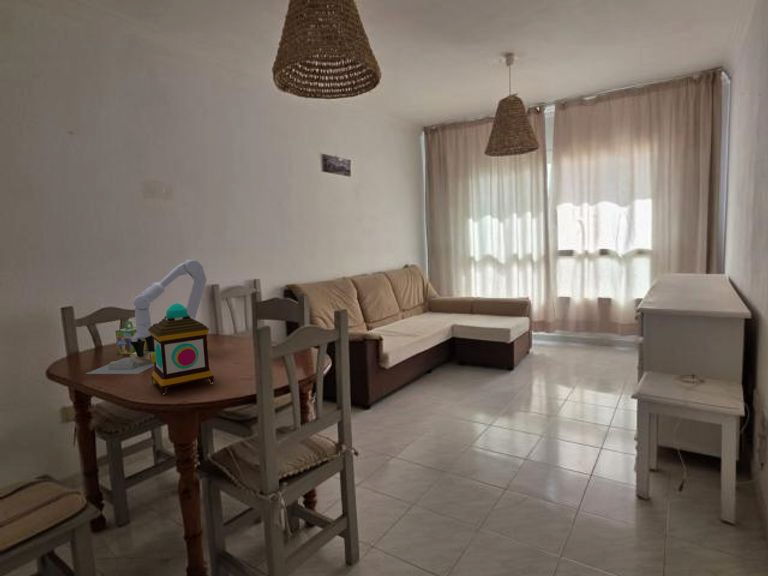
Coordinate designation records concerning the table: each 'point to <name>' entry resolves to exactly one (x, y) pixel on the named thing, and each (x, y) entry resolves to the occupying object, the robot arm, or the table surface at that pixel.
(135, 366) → the fulcrum
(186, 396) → the table surface
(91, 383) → the table surface
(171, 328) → the decorative lantern
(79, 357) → the table surface
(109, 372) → the mat
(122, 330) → the chalk box
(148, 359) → the beam
